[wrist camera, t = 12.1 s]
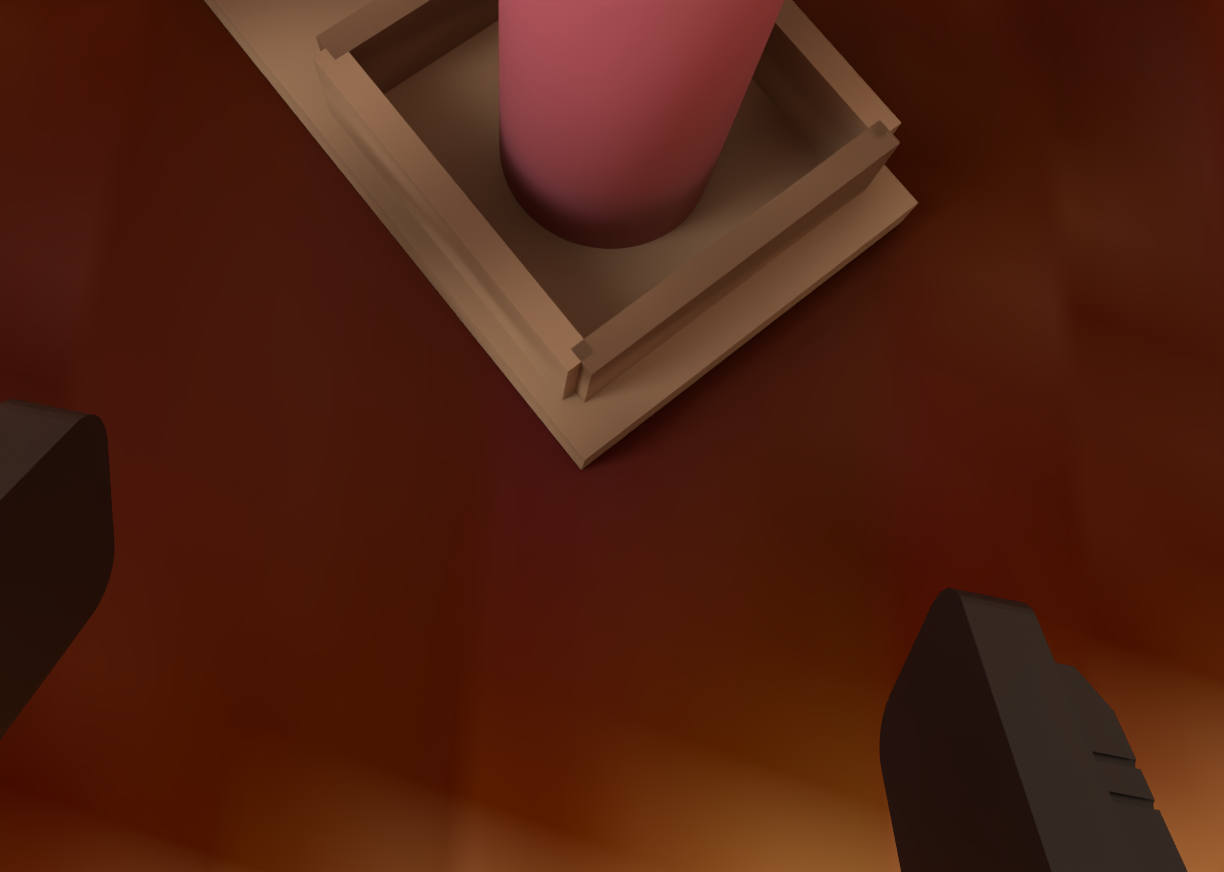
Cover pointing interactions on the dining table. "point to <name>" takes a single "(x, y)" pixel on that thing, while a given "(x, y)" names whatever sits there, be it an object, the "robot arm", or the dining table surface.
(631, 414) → the holder
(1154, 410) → the dining table surface
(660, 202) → the candle loose
